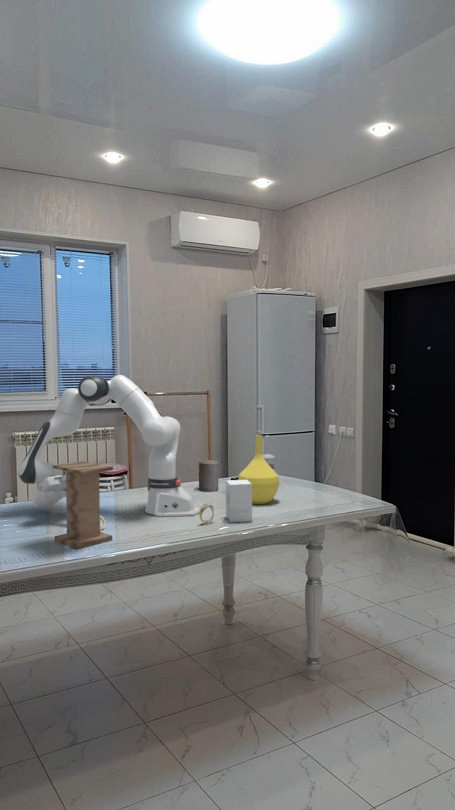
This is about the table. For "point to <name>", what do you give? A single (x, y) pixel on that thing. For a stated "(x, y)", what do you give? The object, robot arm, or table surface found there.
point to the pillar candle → (208, 476)
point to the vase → (260, 477)
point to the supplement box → (238, 500)
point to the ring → (204, 509)
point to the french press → (268, 456)
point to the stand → (82, 505)
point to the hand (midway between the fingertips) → (75, 473)
